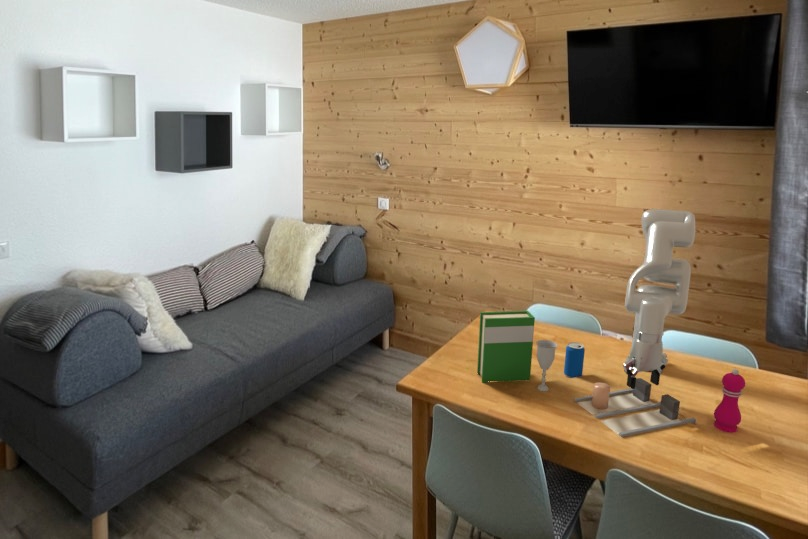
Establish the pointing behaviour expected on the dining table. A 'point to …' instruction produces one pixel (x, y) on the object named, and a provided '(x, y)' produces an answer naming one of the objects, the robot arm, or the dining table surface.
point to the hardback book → (505, 345)
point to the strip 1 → (624, 399)
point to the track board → (633, 409)
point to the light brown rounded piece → (600, 395)
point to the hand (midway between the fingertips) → (642, 385)
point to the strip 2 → (647, 417)
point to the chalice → (545, 359)
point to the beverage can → (574, 360)
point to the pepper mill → (729, 403)
